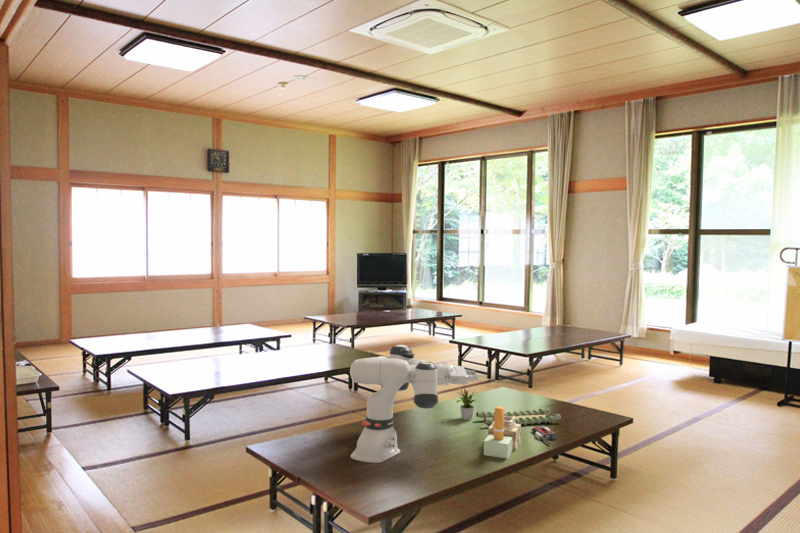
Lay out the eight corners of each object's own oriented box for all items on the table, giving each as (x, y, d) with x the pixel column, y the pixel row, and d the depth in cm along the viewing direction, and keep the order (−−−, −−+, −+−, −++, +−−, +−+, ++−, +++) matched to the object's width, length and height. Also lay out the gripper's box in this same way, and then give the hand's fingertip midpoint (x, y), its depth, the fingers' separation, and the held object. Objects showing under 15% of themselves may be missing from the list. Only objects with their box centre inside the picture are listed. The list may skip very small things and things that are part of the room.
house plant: (444, 417, 287) (445, 385, 287) (462, 412, 296) (463, 382, 296) (466, 424, 277) (466, 391, 276) (484, 418, 286) (484, 387, 285)
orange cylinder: (501, 441, 234) (502, 410, 234) (491, 438, 237) (492, 408, 236) (505, 438, 238) (506, 407, 238) (496, 436, 240) (496, 406, 240)
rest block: (507, 458, 231) (507, 444, 231) (483, 454, 235) (484, 440, 235) (512, 450, 240) (512, 437, 240) (489, 447, 244) (489, 433, 244)
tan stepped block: (515, 450, 241) (515, 423, 240) (487, 446, 245) (488, 420, 245) (520, 441, 252) (521, 416, 251) (494, 438, 256) (494, 413, 256)
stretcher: (485, 429, 270) (486, 419, 270) (474, 420, 284) (475, 410, 284) (562, 424, 280) (562, 414, 279) (548, 416, 294) (548, 406, 293)
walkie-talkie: (527, 432, 267) (547, 446, 247) (527, 423, 267) (547, 436, 247) (544, 431, 269) (565, 445, 249) (544, 422, 268) (565, 435, 249)
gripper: (446, 372, 230) (479, 373, 230) (443, 362, 250) (474, 363, 250) (445, 388, 230) (479, 388, 230) (442, 376, 251) (474, 377, 250)
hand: (476, 375), depth 240 cm, fingers open, 8 cm apart
